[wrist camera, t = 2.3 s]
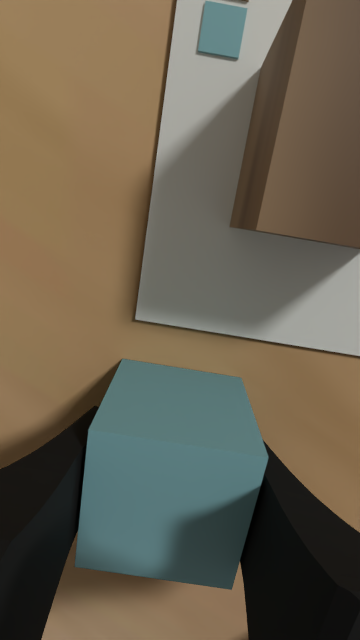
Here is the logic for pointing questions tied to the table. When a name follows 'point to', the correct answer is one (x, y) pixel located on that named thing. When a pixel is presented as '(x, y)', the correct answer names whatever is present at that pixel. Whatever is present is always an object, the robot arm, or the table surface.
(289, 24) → the brick walnut
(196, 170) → the baseplate
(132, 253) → the table surface
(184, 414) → the brick teal
